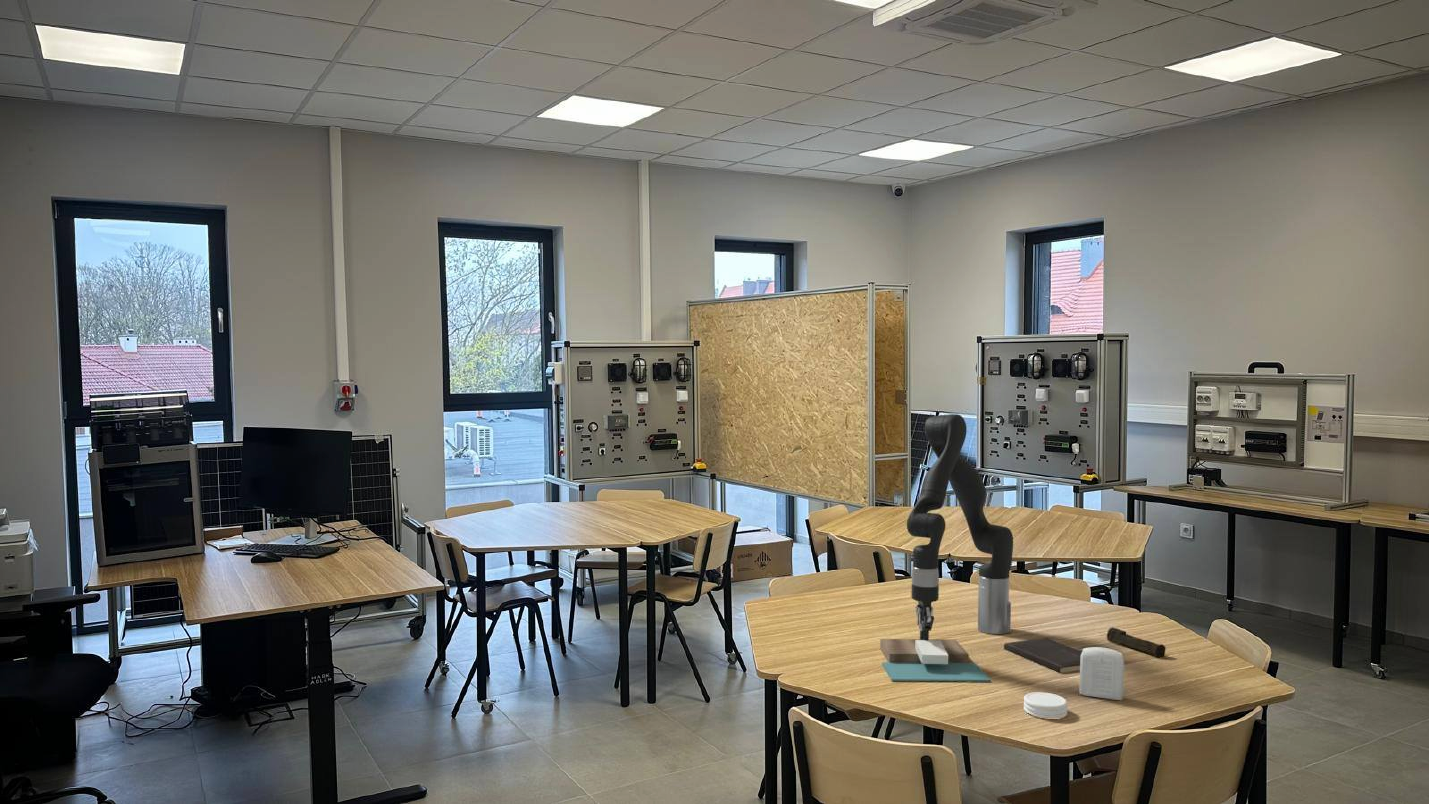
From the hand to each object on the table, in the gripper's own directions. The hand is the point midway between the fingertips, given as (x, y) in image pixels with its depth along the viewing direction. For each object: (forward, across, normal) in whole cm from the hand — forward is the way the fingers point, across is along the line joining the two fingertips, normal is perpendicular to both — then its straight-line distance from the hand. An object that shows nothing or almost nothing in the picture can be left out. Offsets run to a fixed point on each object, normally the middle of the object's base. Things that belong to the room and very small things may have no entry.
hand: (924, 643), depth 265 cm
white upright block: (+5, -29, -38) cm, 48 cm away
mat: (+4, -12, 0) cm, 13 cm away
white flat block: (+2, -7, 0) cm, 7 cm away
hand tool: (+5, +11, -64) cm, 65 cm away
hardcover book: (+5, +2, -37) cm, 38 cm away
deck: (+4, +2, 0) cm, 5 cm away
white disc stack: (+5, -40, -20) cm, 45 cm away
